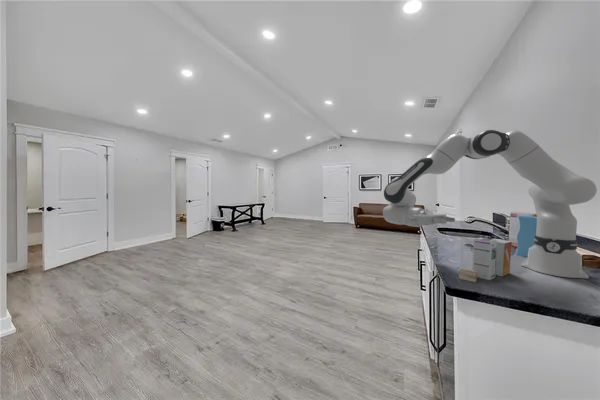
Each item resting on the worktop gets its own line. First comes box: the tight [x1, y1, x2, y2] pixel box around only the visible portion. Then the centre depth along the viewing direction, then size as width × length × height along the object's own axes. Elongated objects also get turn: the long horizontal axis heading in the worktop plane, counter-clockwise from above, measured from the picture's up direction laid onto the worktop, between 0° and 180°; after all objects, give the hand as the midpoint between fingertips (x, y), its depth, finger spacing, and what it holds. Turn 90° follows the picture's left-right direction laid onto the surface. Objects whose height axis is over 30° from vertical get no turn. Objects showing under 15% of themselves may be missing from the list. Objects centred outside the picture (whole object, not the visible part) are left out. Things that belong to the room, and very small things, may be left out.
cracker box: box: [508, 211, 537, 249], centre depth 137 cm, size 14×6×21 cm, turn 179°
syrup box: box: [472, 237, 497, 281], centre depth 90 cm, size 6×6×14 cm
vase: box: [515, 216, 537, 258], centre depth 122 cm, size 8×8×20 cm
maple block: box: [458, 267, 478, 283], centre depth 88 cm, size 5×5×3 cm
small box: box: [493, 238, 513, 277], centre depth 94 cm, size 8×6×13 cm
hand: (450, 220), depth 98 cm, fingers open, 8 cm apart
